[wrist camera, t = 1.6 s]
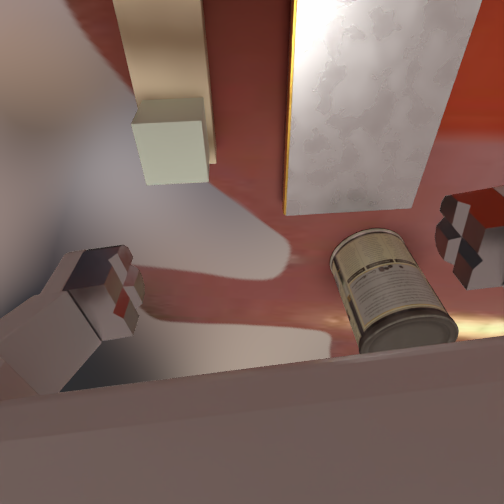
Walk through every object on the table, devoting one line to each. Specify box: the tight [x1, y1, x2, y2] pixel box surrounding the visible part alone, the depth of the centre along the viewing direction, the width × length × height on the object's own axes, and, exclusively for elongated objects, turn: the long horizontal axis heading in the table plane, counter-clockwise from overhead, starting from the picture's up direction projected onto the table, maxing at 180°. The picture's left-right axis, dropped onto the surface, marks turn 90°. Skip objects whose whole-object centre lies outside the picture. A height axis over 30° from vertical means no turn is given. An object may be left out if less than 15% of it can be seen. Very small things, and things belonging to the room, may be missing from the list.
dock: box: [282, 0, 482, 216], centre depth 30 cm, size 28×14×3 cm, turn 1°
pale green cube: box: [131, 97, 210, 185], centre depth 28 cm, size 5×5×5 cm
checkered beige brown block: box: [113, 0, 216, 164], centre depth 27 cm, size 22×6×4 cm, turn 1°
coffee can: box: [330, 228, 458, 354], centre depth 42 cm, size 10×10×14 cm
